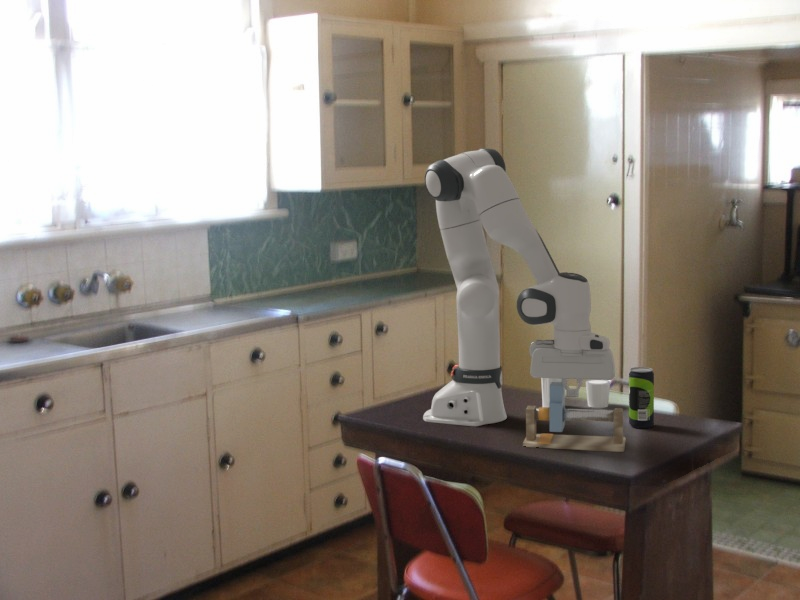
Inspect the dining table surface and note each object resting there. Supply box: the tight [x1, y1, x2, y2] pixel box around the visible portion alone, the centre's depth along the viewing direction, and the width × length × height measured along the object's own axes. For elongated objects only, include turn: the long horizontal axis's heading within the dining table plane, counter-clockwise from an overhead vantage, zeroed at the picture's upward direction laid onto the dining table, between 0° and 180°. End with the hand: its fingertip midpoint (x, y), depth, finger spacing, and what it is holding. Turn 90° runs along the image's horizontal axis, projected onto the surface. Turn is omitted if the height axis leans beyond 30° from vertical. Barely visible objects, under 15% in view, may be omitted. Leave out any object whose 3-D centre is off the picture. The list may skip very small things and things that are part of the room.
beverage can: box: [628, 366, 655, 430], centre depth 275 cm, size 6×6×15 cm
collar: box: [549, 382, 566, 433], centre depth 259 cm, size 3×7×11 cm, turn 166°
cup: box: [540, 378, 566, 407], centre depth 297 cm, size 8×8×14 cm
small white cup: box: [585, 379, 611, 409], centre depth 299 cm, size 7×7×7 cm
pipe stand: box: [522, 405, 626, 453], centre depth 259 cm, size 24×9×9 cm, turn 76°
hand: (572, 396), depth 258 cm, fingers closed
